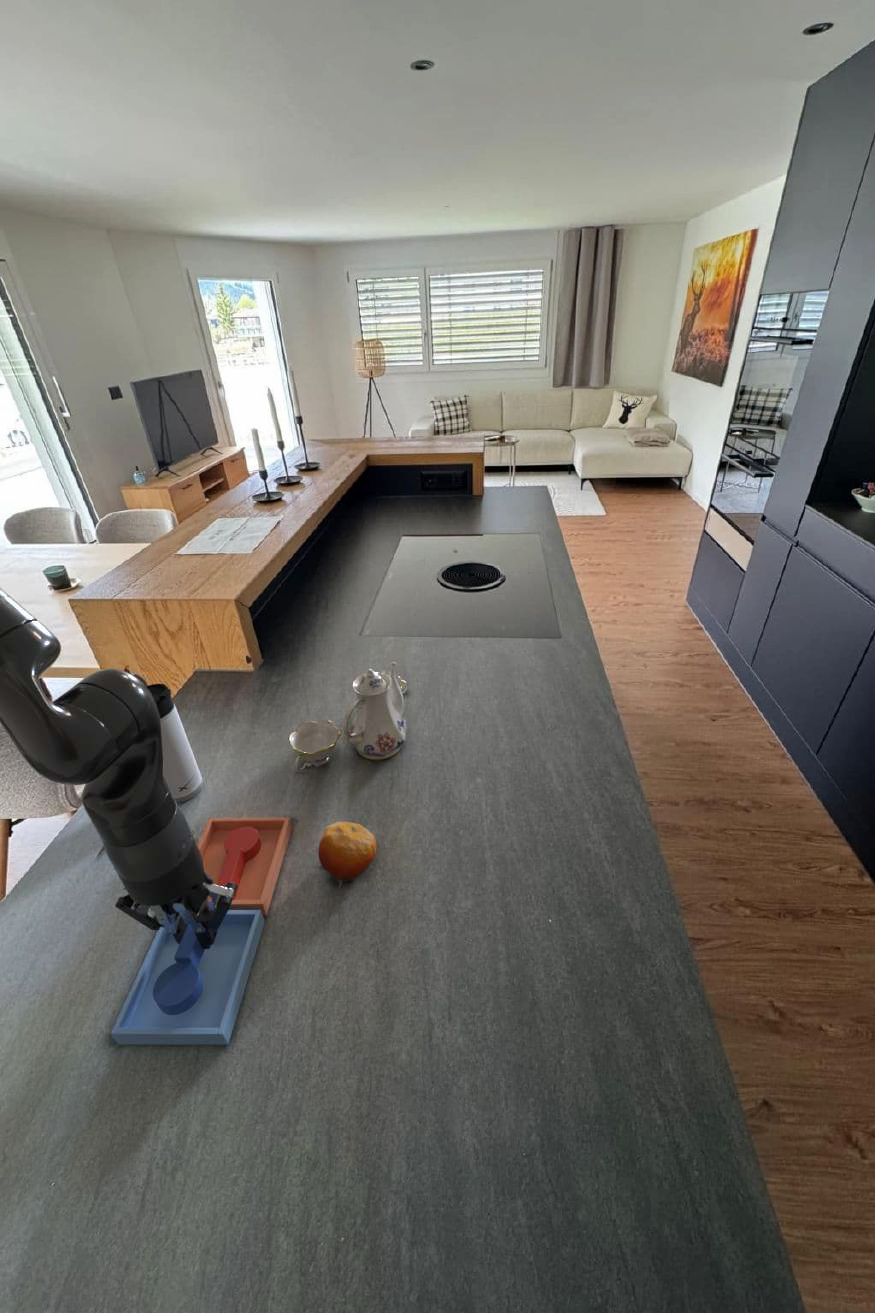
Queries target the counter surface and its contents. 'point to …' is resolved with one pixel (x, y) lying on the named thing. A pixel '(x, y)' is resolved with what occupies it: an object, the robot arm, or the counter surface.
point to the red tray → (259, 869)
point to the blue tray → (219, 998)
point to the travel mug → (176, 748)
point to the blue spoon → (181, 976)
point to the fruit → (346, 850)
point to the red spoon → (238, 854)
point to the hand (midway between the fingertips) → (199, 941)
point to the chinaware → (359, 722)
